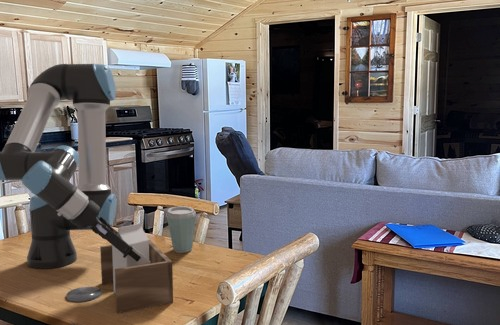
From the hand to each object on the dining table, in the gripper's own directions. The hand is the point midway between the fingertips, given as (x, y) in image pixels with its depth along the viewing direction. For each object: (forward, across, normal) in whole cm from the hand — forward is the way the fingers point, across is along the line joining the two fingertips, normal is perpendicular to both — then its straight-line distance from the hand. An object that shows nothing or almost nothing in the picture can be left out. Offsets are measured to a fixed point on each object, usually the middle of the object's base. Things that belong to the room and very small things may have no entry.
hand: (142, 260), depth 131 cm
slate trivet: (-5, -4, -17) cm, 18 cm away
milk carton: (+4, 0, -9) cm, 10 cm away
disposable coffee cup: (+21, -30, +9) cm, 38 cm away
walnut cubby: (+5, 0, -8) cm, 9 cm away
